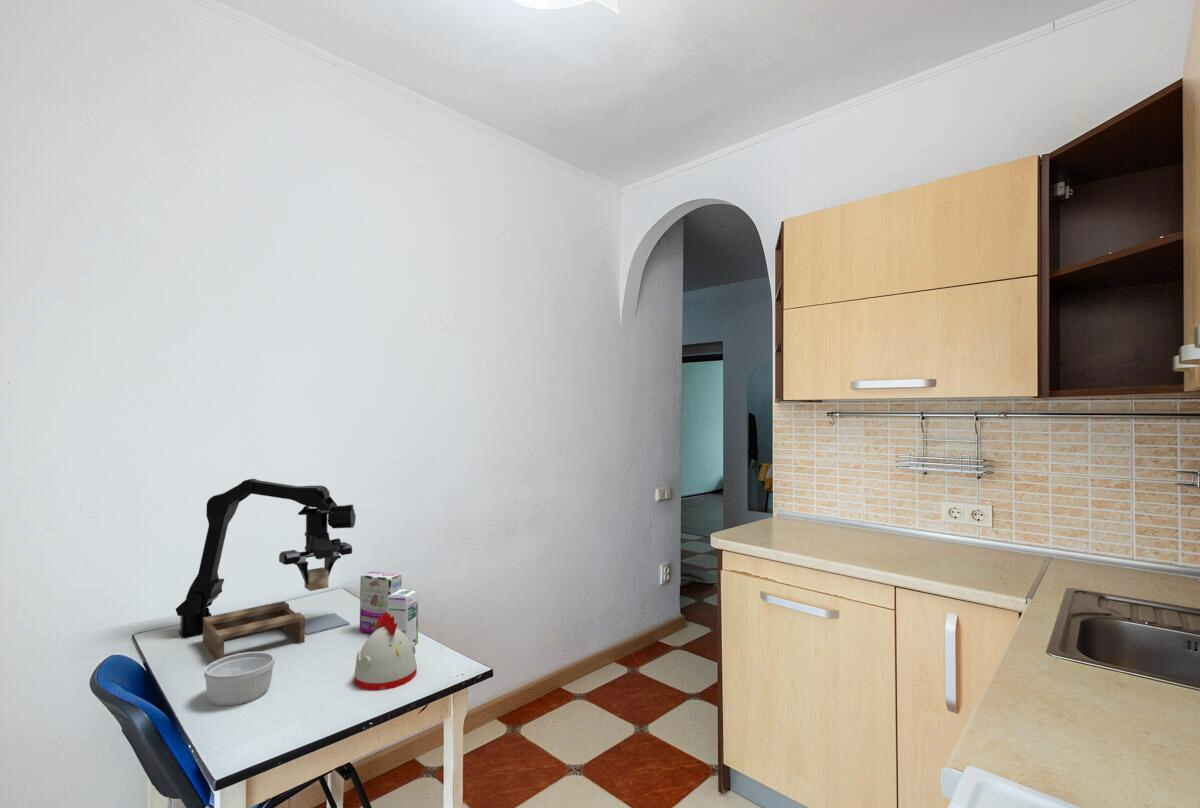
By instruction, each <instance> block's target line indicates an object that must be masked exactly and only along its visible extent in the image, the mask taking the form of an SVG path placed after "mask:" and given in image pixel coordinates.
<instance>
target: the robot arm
mask: <svg viewBox="0 0 1200 808" xmlns="http://www.w3.org/2000/svg"><path fill="white" fill-rule="evenodd" d="M250 495H257V496H265V497H272V498H278V499H284V500H289V501H294V502H296V503H298V504H300V505H303V508H301V510H300V511H299V512H298V513H297V515H298V516H300V515H301V516H305V531H304V536H305V546H304V551H300V552H299V551H298V550H295V549H289V550H285V551H281V552H280V553H279V556H278V562H279V563H281V564H283V565H295V566H297V568H298V570H299V572H300V574H301V576H302V579H303V581H304V585H305V584H308V570H309V569H308V566H309V562H308V561H307V559H308V558H313V557H314V558H315V559H316V560H322V559H323V560H324V565H323V566H324V567H323V568H325V569H327V570H329V575H331V571H332V569H333V567H334V565H335V562H336V561H338V560H339V559H341V557H342V556H346V555H351V554H353V546H352V545H351V544H350V543H348V542H347V541H341V539H340V538H338V537H337V538H333V539H331V538H330V532H328V527H331V528H332V529H353V528H354V527H355V525H356V518H357V517H356V516H357V514H356V513H355V509H354V504H347V505H346V504H345V505H338V504H337V503H336V502H335V500H334V499H333V497H331V496H330V495H331V494H330V490H329V489H328V487H326V486H325V485H299V486H297V485H291V484H285V483H278V482H272V481H265V480H260V479H256V478H249V479H246V480H243V481H242V482H240V483H239V484H237V485H236V486H234V487H232V488H230V489H228V490H227V491H225V492H223V493H222V492H221V493H219V494H214V495H213V496H212V497H211V496H210V498H209V499H208V500H207V502H206V509H205V510H206V514H205V515H206V520H207V523H208V527H207V533H206V537H205V542H204V545H203V551H202V555H201V558H200V564H199V567H198V573H197V575H196V577H195V578H194V580H193V581H192V583H191V584H190V587H189V588H188V591H187V594H186V596H185V599H184V601H183V602H182V603H180V604H179V605H178V606H177V607H176V608H175V611H176V614H177V617H179V618H180V623H179V624H180V627H179V630H178V634H179V635H180V637H181V638H183V639H185V638H191V637H194V636H198V635H203V618H204V617H209V616H212V613H211V612H210V608H209V607H210V606H212V604H213V601H214V600H216V599H218V596H219V595H220V594H221V593H223V584H224V582H225V578H219V574H218V572H219V567H220V562H221V557H222V554H223V553H222V552H223V548H224V544H225V539H226V536H227V535H226V534H227V530H228V527H229V524H230V522H231V520H232V518H233V517H234V515H235V514H236V511H237V509H238V506H239V504H240V503H241V502H242V501H243V500H245V499H247V498H248V497H249V496H250Z"/></svg>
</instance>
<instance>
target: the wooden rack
mask: <svg viewBox="0 0 1200 808" xmlns="http://www.w3.org/2000/svg"><path fill="white" fill-rule="evenodd" d="M305 619H306V616H305V615H303V613H301V612H295V611H294V610H293V609H291V608H290V604H289V603H288V602H286V601H285V600H283V601H278V602H273V603H269V604H264V605H257V606H254V607H249V608H244V609H240V610H234V611H229V612H224V613H220V614H214V615H211V616H209V617H204V618H203V634H202V645H203V646H204V647H205V649H206V650H207V651H208V653H209V654H210V655H211V657H212V658H213V659H214V661H216V660H219V659H221V658H224V657H225V641H227V640H231V639H236V638H239V637H243V636H248V635H253V634H257V633H261V632H265V631H269V630H274V629H279V628H281V629H282V630H284V632H286V633H287V634H288V635H289V636H290V637H292V638H293V639H294V640H295V641H296V642H297V643H298V644H303V643H305V636H306V635H305Z"/></svg>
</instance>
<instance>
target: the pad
mask: <svg viewBox="0 0 1200 808" xmlns="http://www.w3.org/2000/svg"><path fill="white" fill-rule="evenodd" d="M348 625H350V622H349V621H348V620H345V619H344V618H343V617H341V616H340V615H338V614H337V613H335V612H332V613H327V614H323V615H318V616H314V617H311V618H305V636H310V635H312V634H317V633H321V632H325V631H330V630H332V629H333V630H334V629H337V628H340V627H345V626H348Z"/></svg>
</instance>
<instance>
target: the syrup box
mask: <svg viewBox="0 0 1200 808" xmlns="http://www.w3.org/2000/svg"><path fill="white" fill-rule="evenodd" d="M418 595H419V594H418V590H417V589H411V588H410V589H409V588H403V589H402V588H401V589H399V590H398V591H397V592H395V593H393V594H391V595H389V596H388V614H390V616H391V617H393V616H394V624H396V623H397V627H396V628H398V629H399V630H401V631H402V632H403V633H404V634H405V635H406V637H407V638H408V640H409V641H410V643H411V642H414V645H417V644H418V643H419V624H418V622H419V607H418V605H419V599H418Z"/></svg>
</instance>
